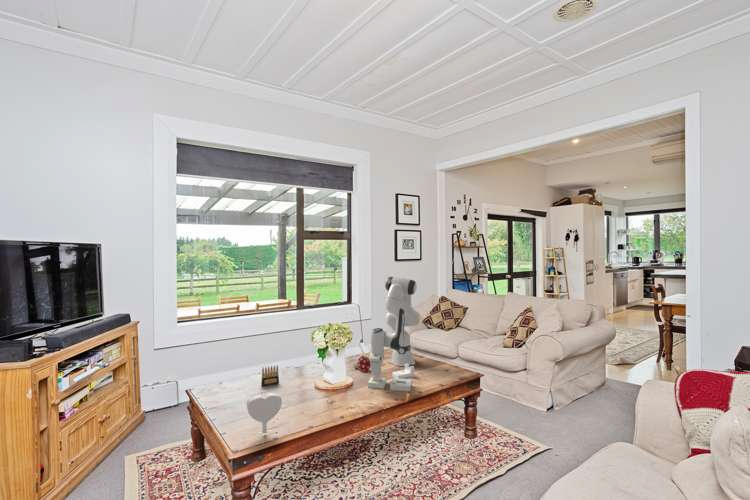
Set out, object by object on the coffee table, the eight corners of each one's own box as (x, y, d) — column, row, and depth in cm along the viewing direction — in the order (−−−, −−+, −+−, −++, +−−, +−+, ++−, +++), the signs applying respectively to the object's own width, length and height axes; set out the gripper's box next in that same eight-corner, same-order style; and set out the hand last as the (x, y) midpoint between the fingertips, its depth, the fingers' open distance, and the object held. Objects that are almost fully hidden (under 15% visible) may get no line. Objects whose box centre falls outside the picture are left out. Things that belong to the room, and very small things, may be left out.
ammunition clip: (261, 386, 235) (261, 367, 235) (261, 385, 237) (261, 366, 237) (279, 383, 240) (279, 365, 240) (278, 382, 242) (278, 364, 242)
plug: (373, 381, 239) (373, 364, 238) (381, 382, 238) (381, 364, 237) (372, 383, 236) (372, 365, 235) (380, 384, 235) (380, 366, 234)
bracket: (407, 374, 259) (408, 363, 259) (414, 377, 253) (414, 366, 253) (392, 377, 253) (392, 366, 253) (397, 381, 247) (398, 369, 246)
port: (392, 384, 240) (392, 377, 240) (411, 385, 238) (411, 378, 238) (389, 391, 229) (390, 383, 229) (409, 393, 226) (409, 385, 226)
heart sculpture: (279, 427, 184) (279, 390, 184) (282, 432, 179) (282, 394, 179) (246, 434, 177) (246, 396, 177) (248, 439, 173) (247, 400, 172)
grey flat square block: (371, 383, 242) (371, 376, 242) (386, 384, 240) (386, 378, 240) (367, 388, 232) (367, 382, 232) (383, 390, 230) (383, 383, 230)
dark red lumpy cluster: (350, 355, 272) (363, 352, 262) (362, 361, 277) (375, 358, 267) (346, 370, 266) (360, 367, 256) (358, 376, 271) (372, 373, 261)
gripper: (375, 349, 247) (375, 370, 247) (368, 359, 227) (368, 382, 227) (385, 350, 246) (384, 371, 246) (379, 360, 226) (379, 383, 226)
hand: (377, 376), depth 236 cm, fingers closed on plug, 3 cm apart
